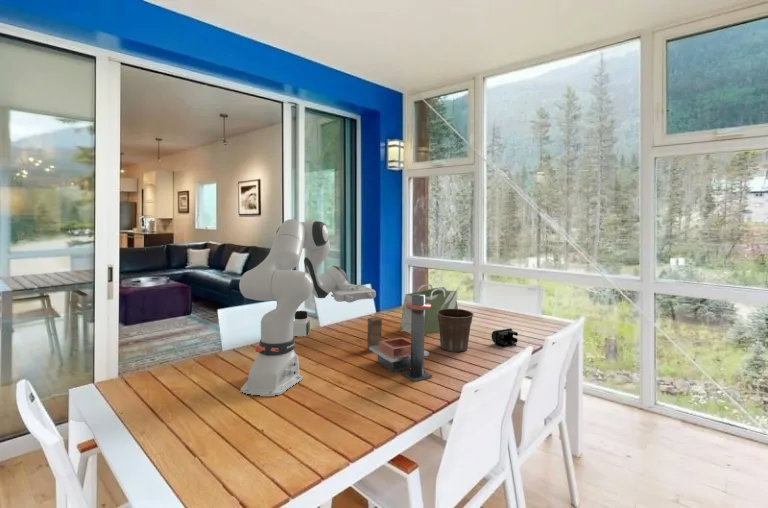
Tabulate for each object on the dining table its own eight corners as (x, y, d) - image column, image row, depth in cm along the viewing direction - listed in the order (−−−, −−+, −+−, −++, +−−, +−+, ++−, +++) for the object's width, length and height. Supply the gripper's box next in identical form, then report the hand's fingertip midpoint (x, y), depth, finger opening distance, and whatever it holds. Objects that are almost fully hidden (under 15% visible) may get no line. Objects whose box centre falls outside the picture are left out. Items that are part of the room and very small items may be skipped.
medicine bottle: (306, 337, 193) (306, 313, 192) (291, 337, 193) (291, 312, 192) (309, 333, 200) (309, 309, 199) (295, 333, 201) (295, 309, 200)
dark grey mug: (506, 340, 192) (507, 326, 192) (518, 344, 186) (518, 330, 185) (490, 343, 188) (491, 329, 187) (501, 347, 181) (502, 333, 181)
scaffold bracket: (369, 361, 162) (369, 287, 159) (404, 354, 170) (405, 284, 168) (404, 384, 139) (405, 299, 137) (443, 375, 148) (444, 295, 145)
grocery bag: (416, 336, 197) (417, 290, 195) (399, 330, 208) (399, 286, 206) (462, 327, 215) (463, 284, 214) (443, 321, 227) (444, 281, 225)
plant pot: (472, 355, 170) (474, 318, 169) (434, 352, 174) (435, 315, 172) (472, 343, 186) (473, 309, 185) (437, 341, 190) (438, 307, 188)
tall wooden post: (367, 349, 177) (367, 318, 176) (376, 347, 179) (376, 317, 178) (372, 352, 173) (372, 320, 172) (381, 350, 175) (381, 319, 174)
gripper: (329, 288, 191) (341, 293, 179) (367, 285, 201) (381, 289, 190) (329, 301, 192) (341, 307, 180) (367, 297, 202) (381, 302, 190)
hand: (362, 298), depth 185 cm, fingers open, 8 cm apart
